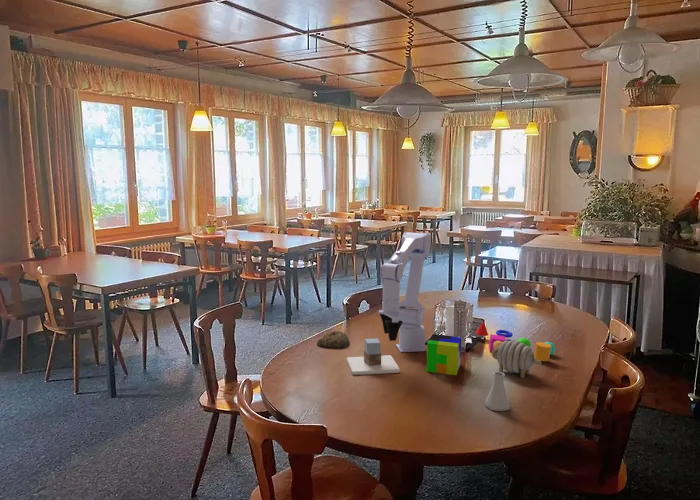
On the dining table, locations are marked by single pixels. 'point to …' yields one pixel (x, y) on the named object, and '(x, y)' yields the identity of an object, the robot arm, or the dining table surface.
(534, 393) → the dining table surface
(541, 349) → the shape set
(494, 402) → the flask
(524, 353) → the toy sheep
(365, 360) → the walnut block
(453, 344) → the puzzle toy
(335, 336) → the bread roll
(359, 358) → the baseplate
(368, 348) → the slate block
